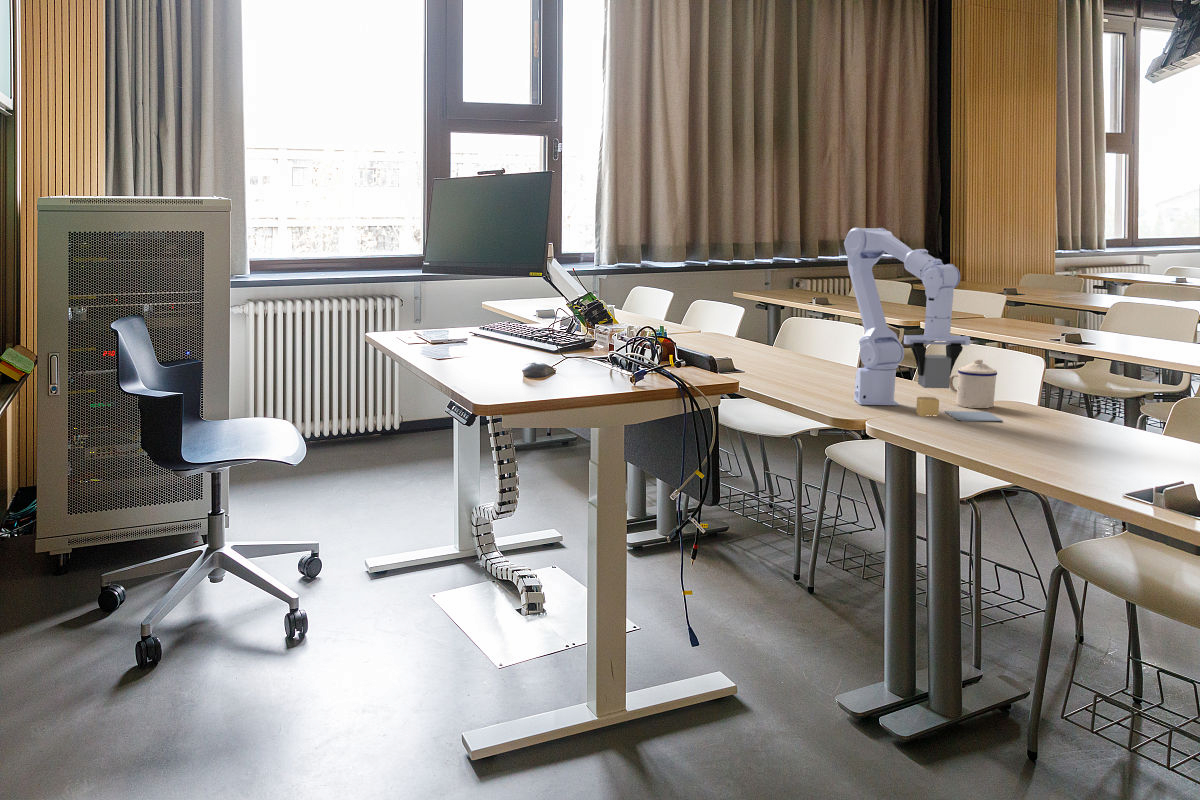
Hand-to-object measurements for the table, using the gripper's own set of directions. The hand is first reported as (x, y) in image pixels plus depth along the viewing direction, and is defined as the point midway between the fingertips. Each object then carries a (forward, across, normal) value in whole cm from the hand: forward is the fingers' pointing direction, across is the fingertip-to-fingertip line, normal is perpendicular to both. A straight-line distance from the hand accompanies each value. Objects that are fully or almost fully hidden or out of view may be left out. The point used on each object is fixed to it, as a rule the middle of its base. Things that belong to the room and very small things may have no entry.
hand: (934, 375), depth 220 cm
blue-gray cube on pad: (+2, 0, 0) cm, 3 cm away
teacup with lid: (+10, +13, +14) cm, 22 cm away
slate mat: (+10, +9, -2) cm, 13 cm away
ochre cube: (+10, -1, 0) cm, 10 cm away
